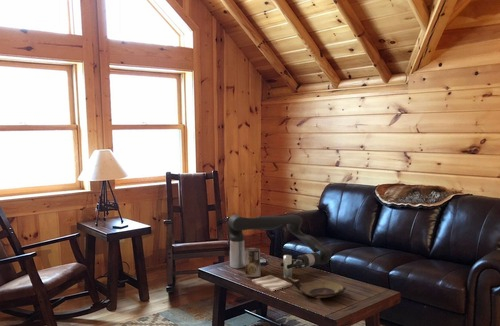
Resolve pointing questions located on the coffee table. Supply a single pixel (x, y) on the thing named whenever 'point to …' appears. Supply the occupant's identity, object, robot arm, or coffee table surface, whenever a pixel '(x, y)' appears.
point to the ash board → (271, 283)
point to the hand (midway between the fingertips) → (284, 265)
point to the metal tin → (286, 261)
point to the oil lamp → (319, 288)
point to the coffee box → (252, 262)
